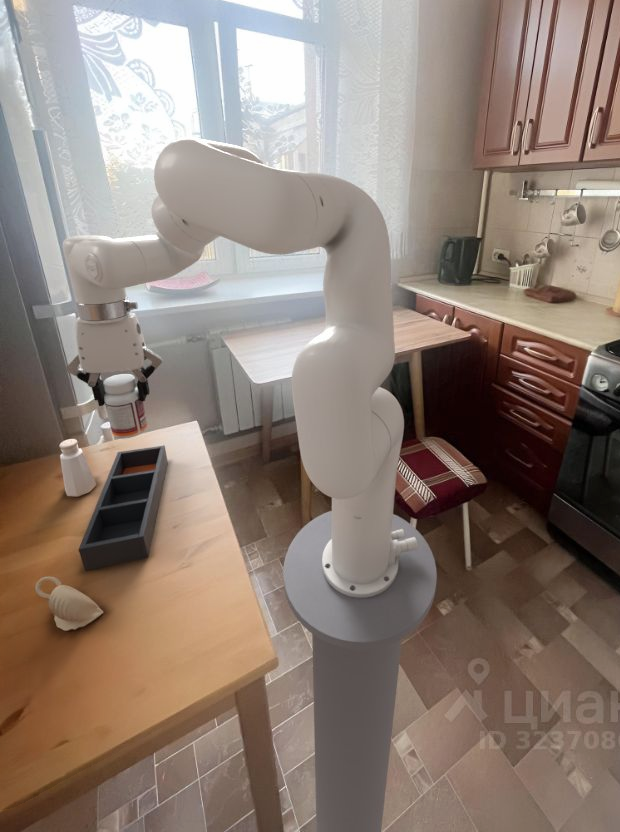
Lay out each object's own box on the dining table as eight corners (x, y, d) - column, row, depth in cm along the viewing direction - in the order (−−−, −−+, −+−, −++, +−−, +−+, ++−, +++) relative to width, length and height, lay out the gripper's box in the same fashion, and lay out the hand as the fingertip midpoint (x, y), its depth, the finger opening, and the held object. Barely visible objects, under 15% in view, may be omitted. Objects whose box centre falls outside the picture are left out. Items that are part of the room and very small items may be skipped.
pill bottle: (137, 419, 81) (126, 369, 77) (154, 428, 78) (144, 377, 74) (106, 432, 77) (93, 380, 72) (123, 443, 74) (110, 389, 69)
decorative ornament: (75, 640, 53) (65, 613, 51) (39, 612, 56) (28, 586, 54) (104, 613, 56) (96, 587, 54) (69, 588, 60) (60, 563, 58)
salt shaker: (86, 476, 83) (73, 431, 79) (103, 483, 81) (91, 438, 77) (58, 492, 78) (44, 445, 74) (75, 500, 76) (61, 453, 72)
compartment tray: (167, 462, 88) (164, 445, 86) (148, 557, 65) (143, 536, 63) (121, 469, 85) (117, 452, 83) (84, 570, 62) (78, 549, 61)
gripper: (161, 301, 74) (175, 386, 81) (53, 306, 69) (77, 396, 76) (155, 312, 68) (171, 404, 74) (35, 318, 62) (64, 416, 69)
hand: (123, 399), depth 75 cm, fingers closed on pill bottle, 6 cm apart
